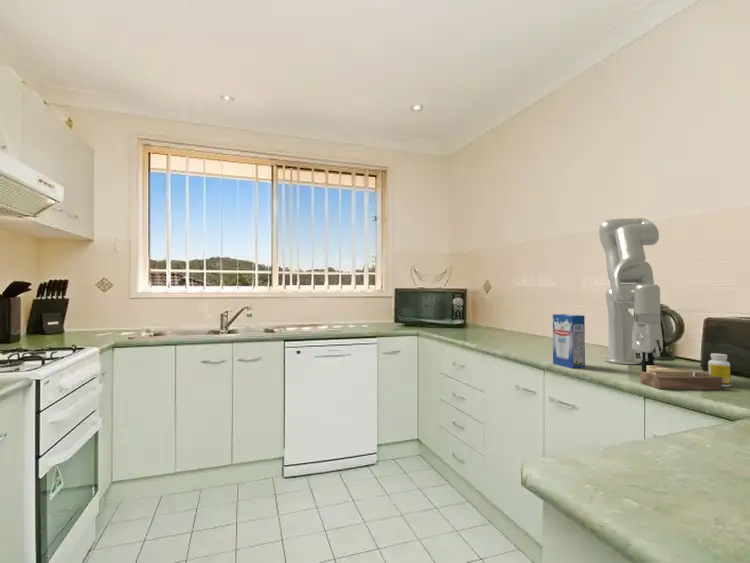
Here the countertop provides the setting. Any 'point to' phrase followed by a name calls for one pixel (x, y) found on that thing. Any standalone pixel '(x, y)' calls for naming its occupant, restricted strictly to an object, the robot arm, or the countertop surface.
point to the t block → (668, 371)
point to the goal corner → (682, 381)
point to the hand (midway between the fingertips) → (647, 371)
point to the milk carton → (569, 340)
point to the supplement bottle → (720, 368)
